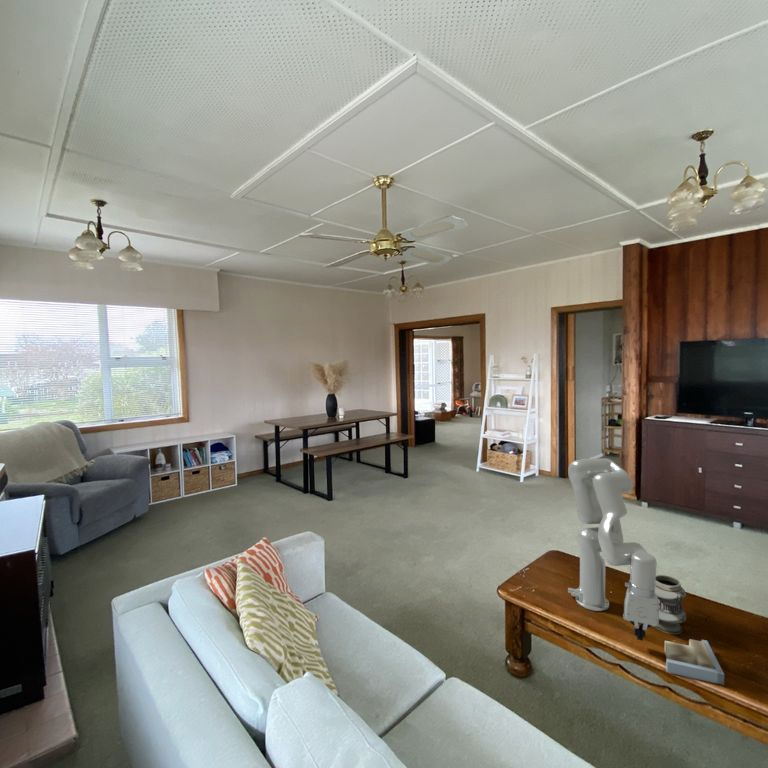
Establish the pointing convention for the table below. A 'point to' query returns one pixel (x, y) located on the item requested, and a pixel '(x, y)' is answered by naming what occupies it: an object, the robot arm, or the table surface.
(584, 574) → the robot arm
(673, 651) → the t block
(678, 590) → the apothecary jar
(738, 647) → the table surface
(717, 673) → the fence
